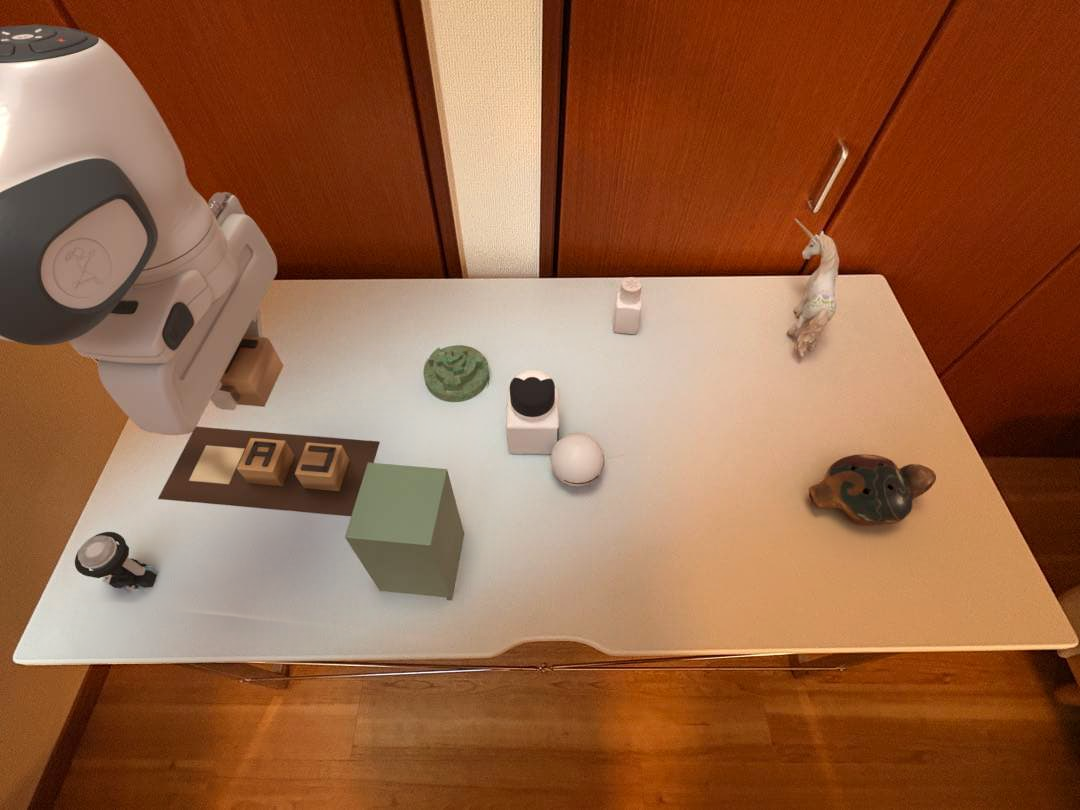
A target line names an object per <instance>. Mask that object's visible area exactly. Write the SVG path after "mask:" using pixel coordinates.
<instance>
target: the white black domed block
mask: <svg viewBox="0 0 1080 810" xmlns="http://www.w3.org/2000/svg"><path fill="white" fill-rule="evenodd" d="M559 395H560V393H559V387H558V386H556V384H555V381H554V380H553V378H552V377H551V376H550V375H549V374H547V373H545V372H543V371H541V370H537V369H528V370H524V371H522V372H521V371H520V372H519V373H518V374H516V375H515V376H514V377H513V378H512V380H511V381H510V384H509V386H508V389H507V403H506V404H507V406H506V422H505V423H506V424H505V428H506V436H507V437H506V439H507V449H508V453H509V454H511V455H551V453H552V450H553V447H554V446H555V444H556V442H558V441H559V438H560V437H559V435H560V433H559V431H560V417H559V416H560V415H559V414H560V410H559V409H560V407H559V406H560V402H559V401H560V400H559Z"/></svg>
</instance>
